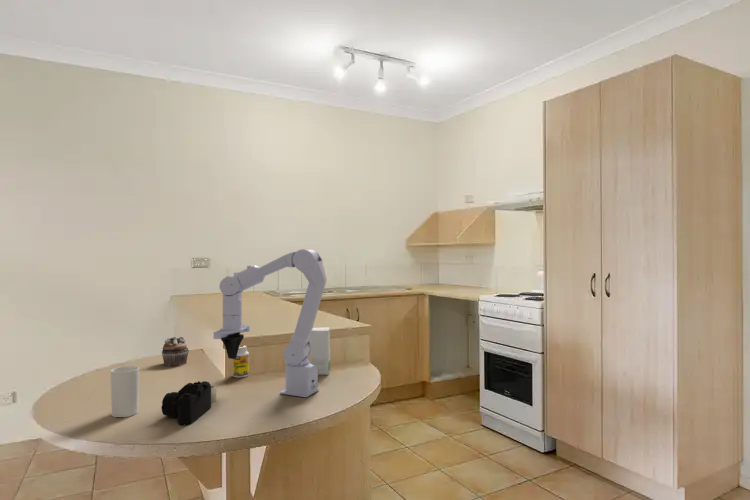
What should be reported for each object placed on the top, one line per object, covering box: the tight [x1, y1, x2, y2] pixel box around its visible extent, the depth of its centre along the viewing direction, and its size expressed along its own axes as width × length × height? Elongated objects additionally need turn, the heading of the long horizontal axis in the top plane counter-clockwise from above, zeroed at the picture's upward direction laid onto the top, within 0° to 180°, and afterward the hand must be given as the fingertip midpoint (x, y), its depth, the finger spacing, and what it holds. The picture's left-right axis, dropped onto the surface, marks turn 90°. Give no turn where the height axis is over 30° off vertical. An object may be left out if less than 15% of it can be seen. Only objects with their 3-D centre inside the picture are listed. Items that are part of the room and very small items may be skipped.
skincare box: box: [310, 326, 331, 376], centre depth 169 cm, size 8×7×16 cm
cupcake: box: [161, 336, 190, 367], centre depth 181 cm, size 10×10×10 cm
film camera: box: [161, 380, 212, 427], centre depth 125 cm, size 15×10×9 cm, turn 175°
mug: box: [110, 365, 140, 418], centre depth 128 cm, size 10×7×12 cm, turn 11°
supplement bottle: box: [231, 345, 250, 379], centre depth 164 cm, size 6×6×10 cm
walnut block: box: [211, 385, 217, 403], centre depth 137 cm, size 5×4×7 cm
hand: (232, 358), depth 148 cm, fingers closed
